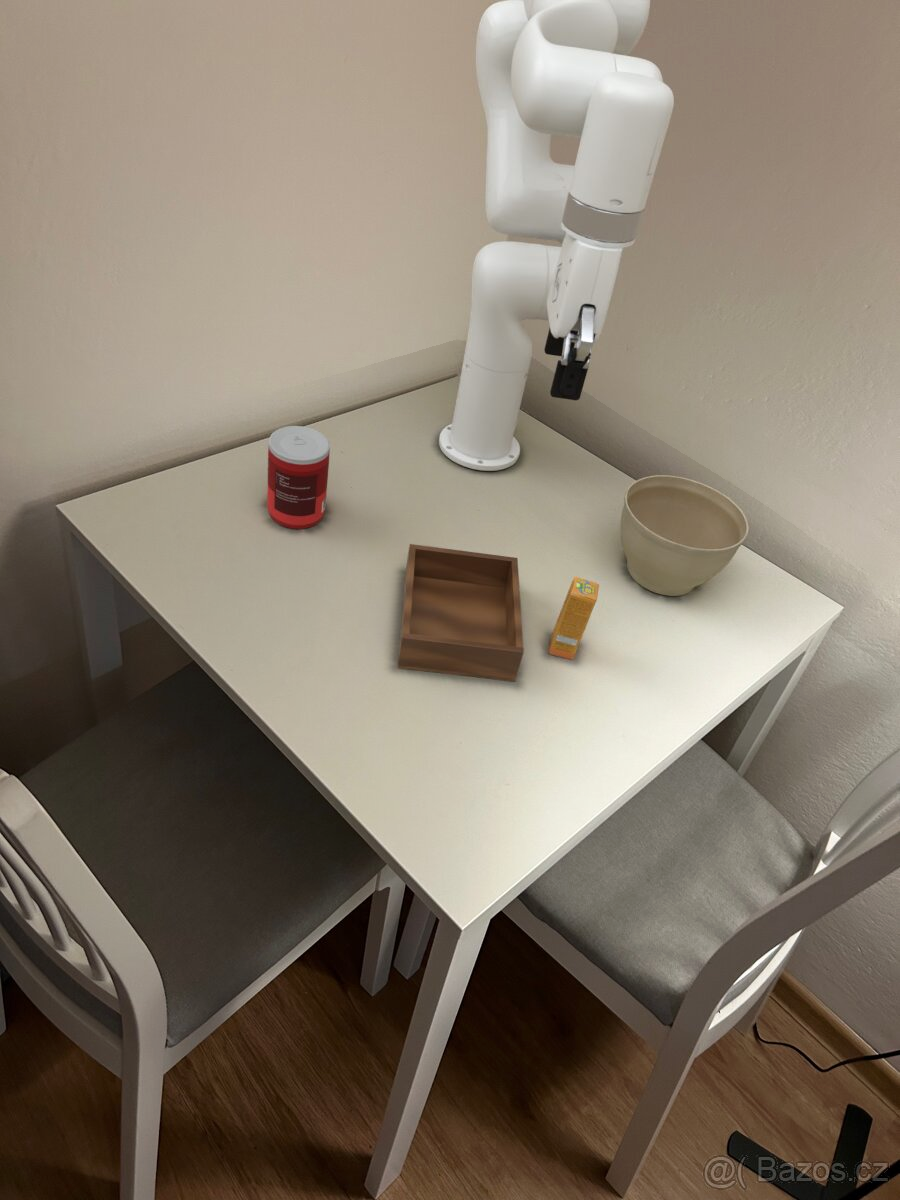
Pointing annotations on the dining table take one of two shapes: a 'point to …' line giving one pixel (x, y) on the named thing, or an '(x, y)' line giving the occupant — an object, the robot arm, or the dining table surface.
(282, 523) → the canned food
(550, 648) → the supplement box
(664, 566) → the planter bowl
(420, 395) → the dining table surface
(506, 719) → the dining table surface
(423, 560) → the wooden tray
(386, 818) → the dining table surface
